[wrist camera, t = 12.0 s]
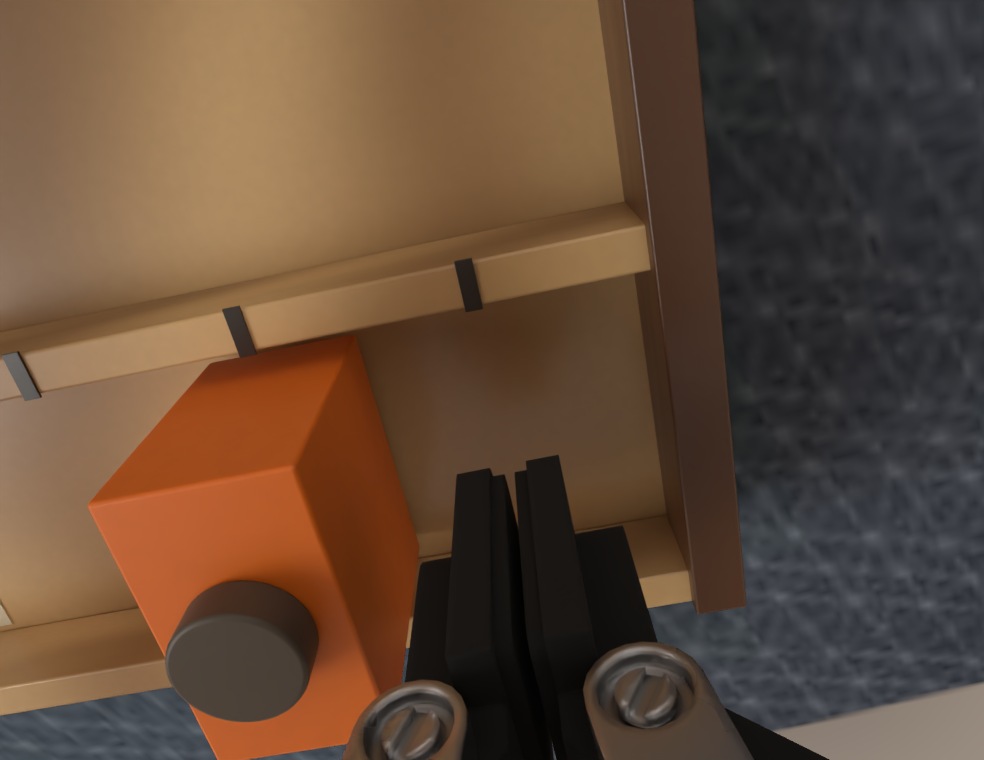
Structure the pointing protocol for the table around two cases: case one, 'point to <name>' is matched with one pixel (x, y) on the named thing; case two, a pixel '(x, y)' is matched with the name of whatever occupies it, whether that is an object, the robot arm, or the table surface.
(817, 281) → the table surface
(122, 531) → the orange block with knob
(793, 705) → the table surface
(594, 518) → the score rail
